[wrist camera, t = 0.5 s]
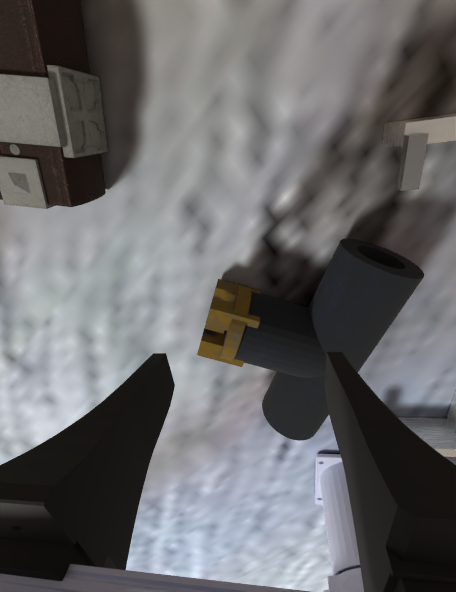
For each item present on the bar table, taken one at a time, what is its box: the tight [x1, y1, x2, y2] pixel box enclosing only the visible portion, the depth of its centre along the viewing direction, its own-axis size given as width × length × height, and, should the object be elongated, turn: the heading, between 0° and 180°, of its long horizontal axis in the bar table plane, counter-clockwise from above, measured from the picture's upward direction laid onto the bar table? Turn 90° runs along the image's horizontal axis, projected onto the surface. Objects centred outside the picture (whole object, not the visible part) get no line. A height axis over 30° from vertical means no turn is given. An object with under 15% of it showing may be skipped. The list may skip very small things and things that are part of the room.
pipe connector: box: [197, 239, 424, 440], centre depth 21 cm, size 12×5×15 cm
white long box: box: [382, 113, 456, 457], centre depth 19 cm, size 25×10×5 cm, turn 7°
